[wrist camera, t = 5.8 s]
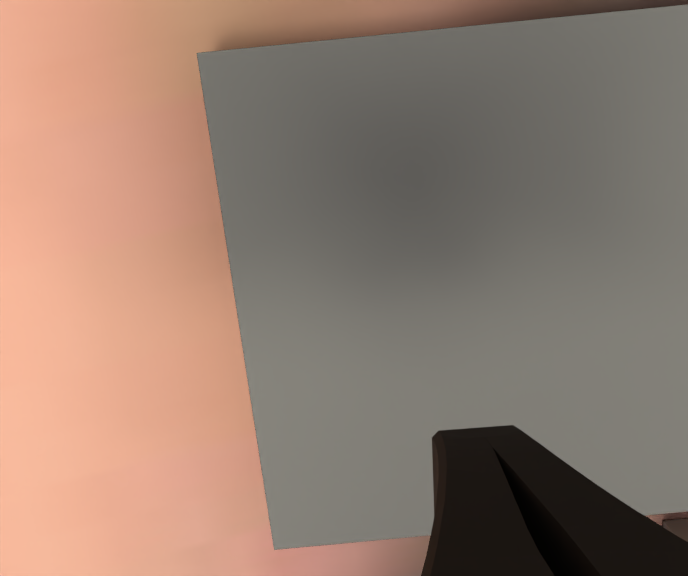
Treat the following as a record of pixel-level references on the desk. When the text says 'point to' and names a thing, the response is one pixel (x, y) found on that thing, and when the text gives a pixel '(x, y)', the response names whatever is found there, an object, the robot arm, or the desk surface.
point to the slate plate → (457, 257)
